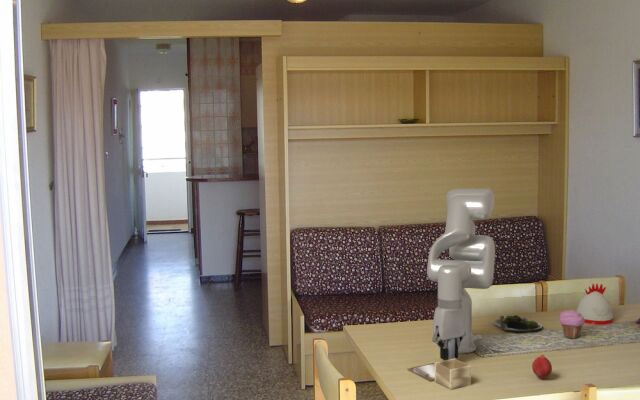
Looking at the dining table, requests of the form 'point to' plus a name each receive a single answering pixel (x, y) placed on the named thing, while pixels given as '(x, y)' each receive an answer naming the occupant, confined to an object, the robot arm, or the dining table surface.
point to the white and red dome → (595, 307)
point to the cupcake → (571, 323)
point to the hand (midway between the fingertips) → (449, 357)
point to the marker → (451, 348)
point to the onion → (542, 367)
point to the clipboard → (425, 371)
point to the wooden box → (452, 374)
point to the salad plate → (518, 324)
